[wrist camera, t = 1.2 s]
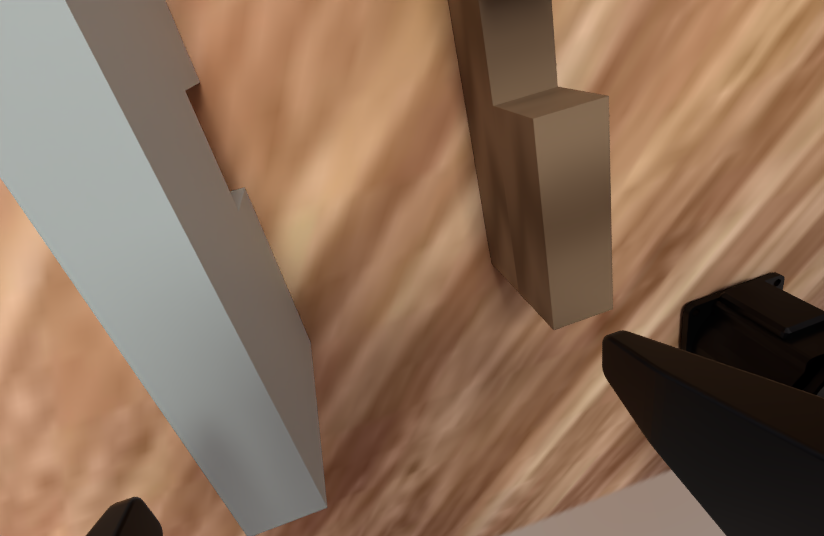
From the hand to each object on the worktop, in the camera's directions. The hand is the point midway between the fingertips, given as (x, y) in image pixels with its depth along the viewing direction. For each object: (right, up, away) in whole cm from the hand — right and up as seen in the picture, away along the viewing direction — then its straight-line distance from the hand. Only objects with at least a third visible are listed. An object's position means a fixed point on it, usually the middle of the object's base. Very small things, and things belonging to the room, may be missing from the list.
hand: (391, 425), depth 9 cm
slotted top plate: (-8, +7, +9) cm, 14 cm away
